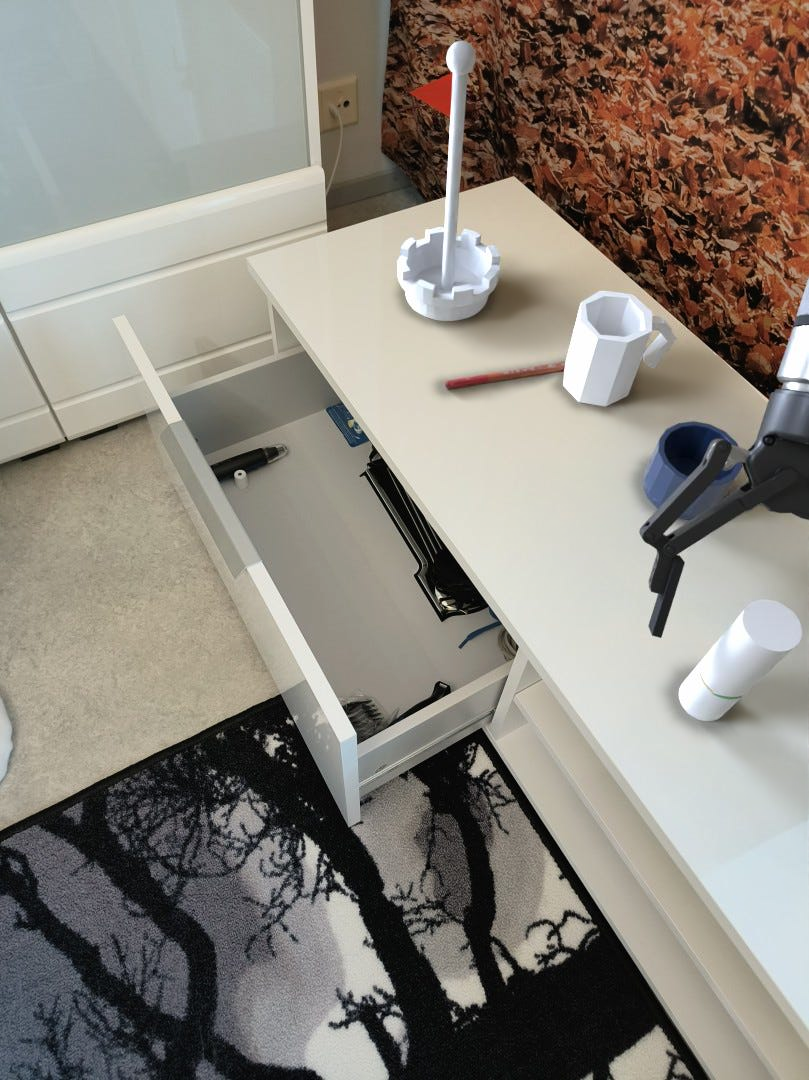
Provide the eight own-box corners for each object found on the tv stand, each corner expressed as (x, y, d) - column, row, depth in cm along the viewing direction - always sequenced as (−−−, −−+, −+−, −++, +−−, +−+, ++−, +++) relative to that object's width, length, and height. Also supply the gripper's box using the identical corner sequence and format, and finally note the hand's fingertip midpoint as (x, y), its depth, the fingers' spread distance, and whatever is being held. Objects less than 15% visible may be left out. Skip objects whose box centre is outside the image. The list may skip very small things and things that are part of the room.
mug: (573, 411, 87) (592, 347, 78) (552, 359, 91) (567, 294, 83) (670, 397, 88) (698, 333, 80) (644, 347, 92) (669, 282, 84)
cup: (734, 481, 81) (756, 446, 76) (701, 532, 77) (722, 499, 72) (663, 446, 84) (680, 409, 79) (629, 494, 80) (644, 458, 75)
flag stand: (499, 266, 101) (531, 16, 76) (492, 331, 94) (525, 79, 69) (405, 257, 102) (405, 8, 77) (390, 321, 95) (386, 69, 70)
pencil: (446, 391, 88) (446, 385, 88) (444, 384, 89) (444, 379, 88) (596, 366, 91) (598, 360, 90) (593, 360, 91) (595, 354, 90)
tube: (669, 698, 67) (731, 624, 55) (695, 667, 69) (761, 588, 56) (709, 731, 66) (783, 662, 53) (736, 698, 67) (812, 625, 55)
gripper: (978, 430, 57) (881, 680, 62) (653, 362, 61) (585, 602, 66) (1038, 435, 50) (923, 717, 55) (665, 357, 54) (588, 626, 59)
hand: (738, 654), depth 60 cm, fingers open, 13 cm apart
